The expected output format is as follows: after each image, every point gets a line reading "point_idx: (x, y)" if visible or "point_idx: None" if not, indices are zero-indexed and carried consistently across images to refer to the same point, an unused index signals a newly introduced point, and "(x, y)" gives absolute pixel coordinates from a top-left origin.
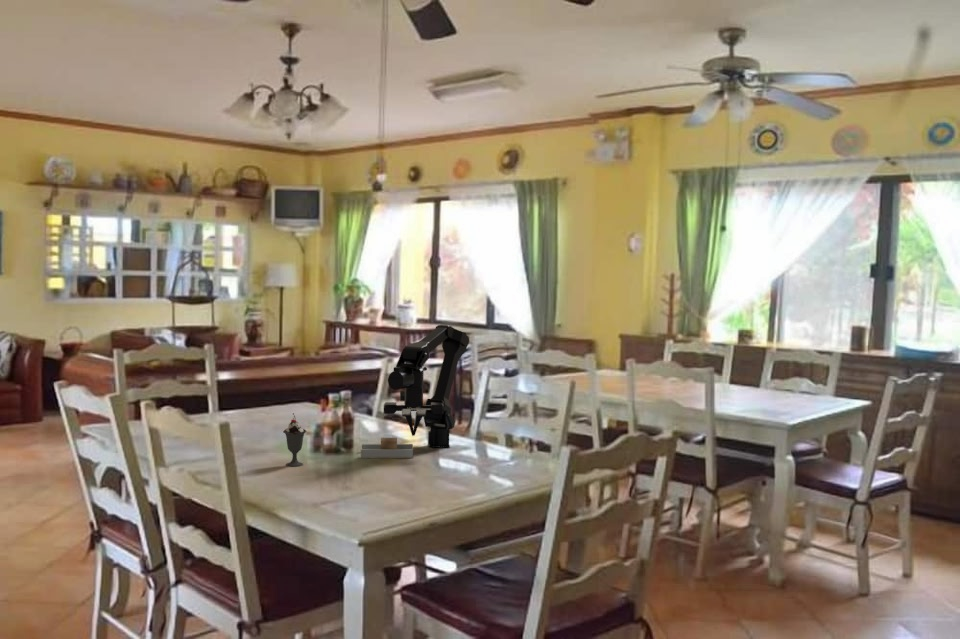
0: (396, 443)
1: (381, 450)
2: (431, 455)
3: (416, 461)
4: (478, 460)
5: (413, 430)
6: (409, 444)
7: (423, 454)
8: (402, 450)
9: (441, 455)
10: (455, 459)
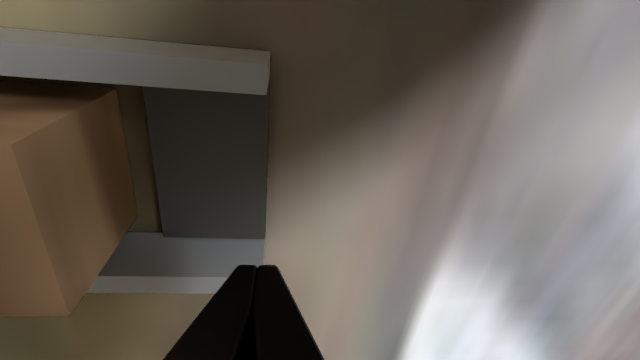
0: (79, 295)
1: None
2: (409, 190)
3: None
4: (628, 305)
5: (252, 345)
6: (227, 88)
7: (355, 156)
8: (170, 287)
9: (480, 193)
10: (520, 287)
